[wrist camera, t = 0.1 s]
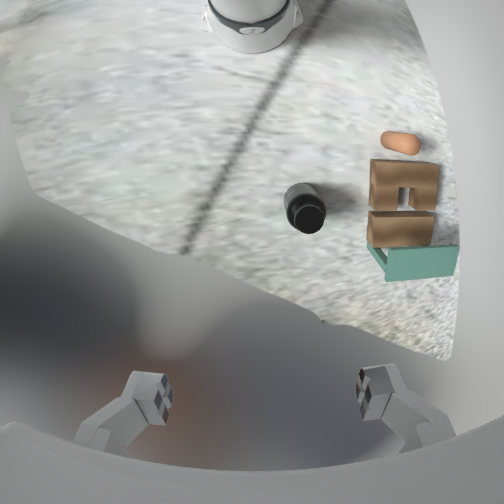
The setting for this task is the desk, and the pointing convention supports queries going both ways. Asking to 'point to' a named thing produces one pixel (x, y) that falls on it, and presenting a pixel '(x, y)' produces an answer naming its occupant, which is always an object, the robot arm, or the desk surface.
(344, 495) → the robot arm
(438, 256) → the teal u-shaped bracket
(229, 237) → the desk surface
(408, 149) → the peg
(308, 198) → the supplement bottle
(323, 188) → the desk surface
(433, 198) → the socket block
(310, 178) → the desk surface
